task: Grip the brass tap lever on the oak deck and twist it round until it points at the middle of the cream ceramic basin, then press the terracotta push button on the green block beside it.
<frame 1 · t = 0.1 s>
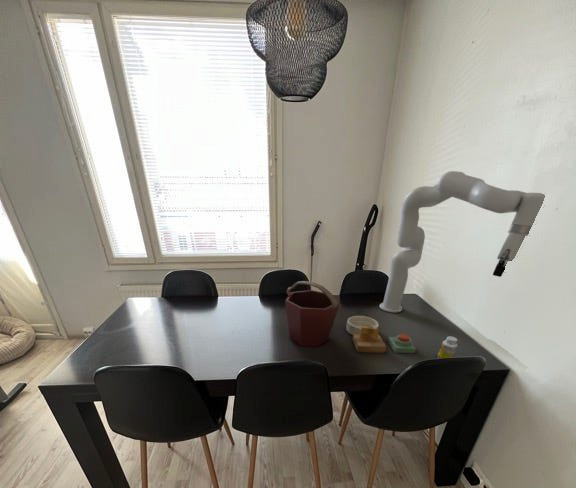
hand: (500, 273, 123), 31 cm above the table, tool pointing down, fingers open, 9 cm apart
supplement bottle: (443, 360, 124), on the table
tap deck: (368, 346, 131), on the table
basin: (361, 331, 143), on the table
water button: (403, 338, 129), point 4 cm above the table, slide at 0.1 cm
tap lever: (369, 332, 130), point 6 cm above the table, hinge at 75.0°
bucket: (309, 337, 136), on the table
button block: (400, 346, 132), on the table
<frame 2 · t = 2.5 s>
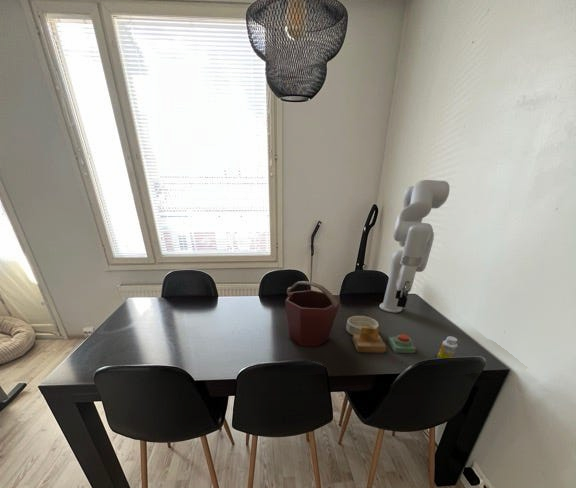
hand: (399, 302, 123), 20 cm above the table, tool pointing down, fingers open, 9 cm apart
nothing on the table moved.
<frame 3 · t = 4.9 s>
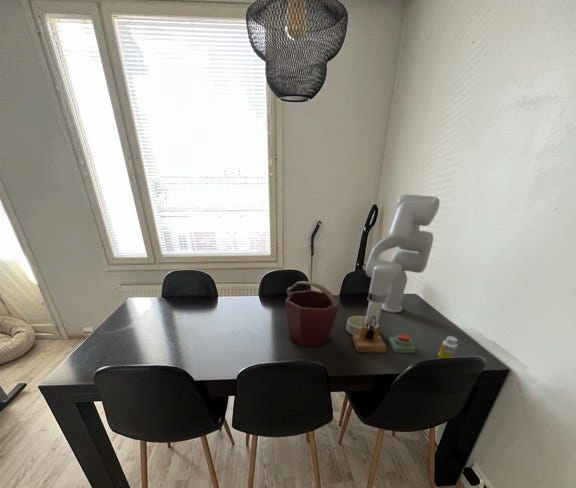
hand: (369, 333, 130), 5 cm above the table, tool pointing down, fingers open, 9 cm apart
nothing on the table moved.
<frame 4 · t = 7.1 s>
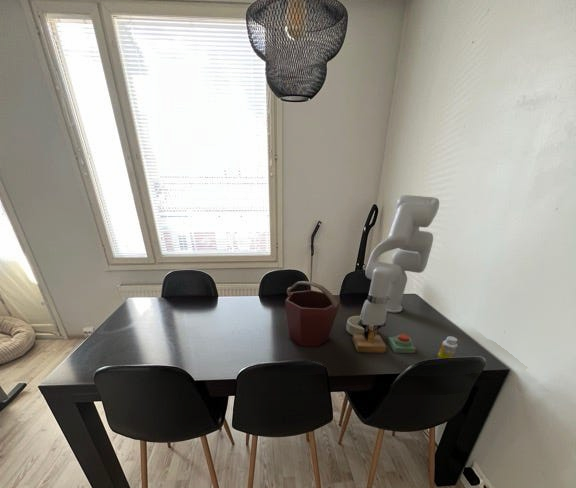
hand: (368, 337, 131), 3 cm above the table, tool pointing down, fingers closed on tap lever, 2 cm apart
tap lever: (369, 332, 130), point 6 cm above the table, hinge at 0.1°, touching gripper
everything else where it was.
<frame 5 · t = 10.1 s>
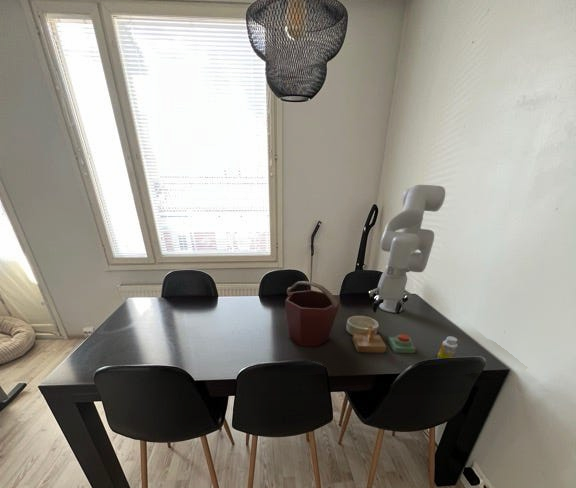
hand: (385, 311, 123), 16 cm above the table, tool pointing down, fingers open, 9 cm apart
tap lever: (369, 332, 130), point 6 cm above the table, hinge at 0.1°
everything else where it was.
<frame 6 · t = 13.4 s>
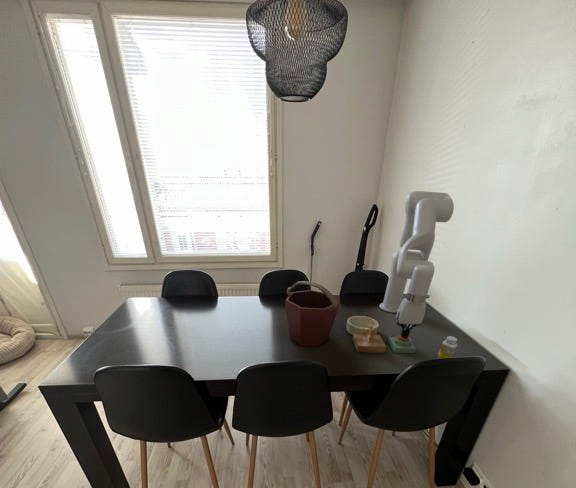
hand: (403, 337, 129), 5 cm above the table, tool pointing down, fingers closed
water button: (403, 338, 129), point 4 cm above the table, slide at -0.3 cm, touching gripper
everything else where it was.
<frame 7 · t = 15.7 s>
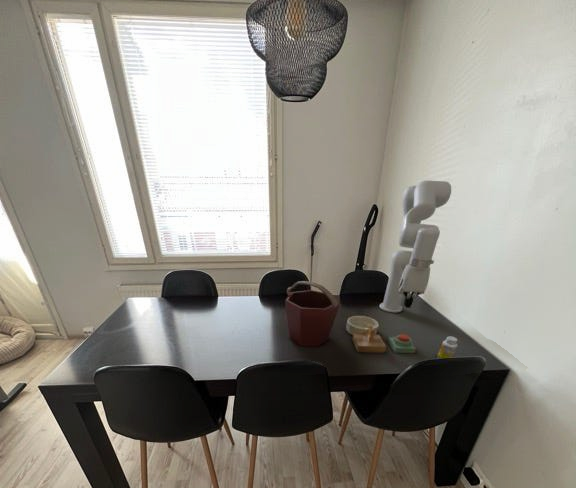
hand: (407, 306, 125), 18 cm above the table, tool pointing down, fingers closed
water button: (403, 338, 129), point 4 cm above the table, slide at 0.1 cm
everything else where it was.
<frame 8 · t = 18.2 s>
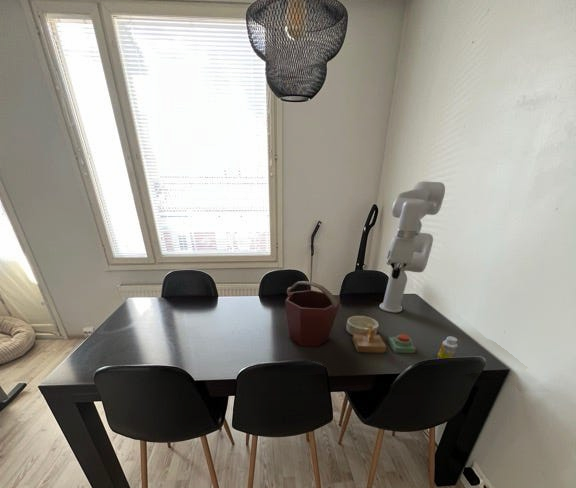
hand: (394, 277, 133), 25 cm above the table, tool pointing down, fingers closed
nothing on the table moved.
at the end: tap lever at +0° (first picture: +75°); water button pushed in 0.9 cm at the most during the clip, back to where it started at the end; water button slide at 0.1 cm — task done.
